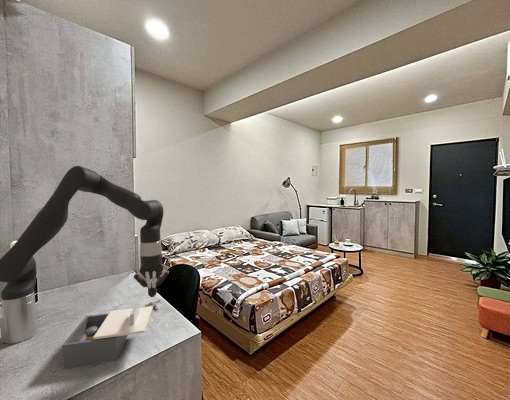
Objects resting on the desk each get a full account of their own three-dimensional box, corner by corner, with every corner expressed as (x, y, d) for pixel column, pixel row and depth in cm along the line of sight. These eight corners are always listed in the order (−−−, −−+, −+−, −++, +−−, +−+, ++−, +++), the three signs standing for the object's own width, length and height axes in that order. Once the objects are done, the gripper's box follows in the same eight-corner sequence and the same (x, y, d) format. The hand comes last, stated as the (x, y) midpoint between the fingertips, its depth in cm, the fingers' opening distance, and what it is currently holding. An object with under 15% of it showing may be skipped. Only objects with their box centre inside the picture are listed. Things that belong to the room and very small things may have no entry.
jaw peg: (85, 351, 87) (84, 333, 87) (89, 345, 90) (87, 327, 90) (97, 348, 88) (95, 330, 88) (100, 342, 92) (98, 325, 91)
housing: (63, 368, 79) (61, 345, 78) (87, 334, 96) (86, 315, 96) (116, 360, 83) (115, 338, 82) (130, 329, 100) (129, 310, 100)
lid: (93, 339, 81) (92, 325, 81) (110, 312, 97) (110, 301, 97) (144, 332, 85) (144, 319, 84) (152, 308, 101) (152, 297, 101)
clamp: (135, 317, 106) (127, 308, 113) (135, 322, 106) (127, 313, 113) (167, 305, 117) (159, 298, 124) (167, 309, 117) (159, 302, 124)
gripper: (170, 248, 97) (171, 290, 98) (134, 251, 94) (136, 293, 95) (168, 254, 89) (169, 298, 91) (129, 256, 86) (131, 303, 88)
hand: (152, 296), depth 93 cm, fingers closed
